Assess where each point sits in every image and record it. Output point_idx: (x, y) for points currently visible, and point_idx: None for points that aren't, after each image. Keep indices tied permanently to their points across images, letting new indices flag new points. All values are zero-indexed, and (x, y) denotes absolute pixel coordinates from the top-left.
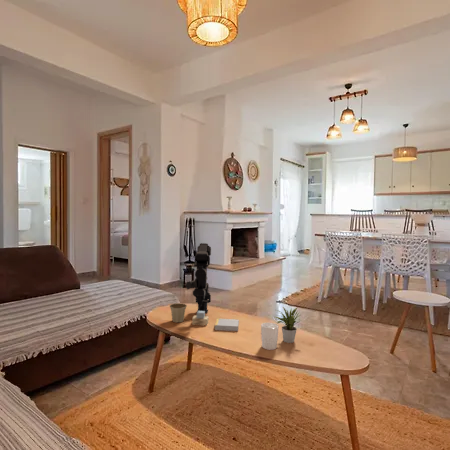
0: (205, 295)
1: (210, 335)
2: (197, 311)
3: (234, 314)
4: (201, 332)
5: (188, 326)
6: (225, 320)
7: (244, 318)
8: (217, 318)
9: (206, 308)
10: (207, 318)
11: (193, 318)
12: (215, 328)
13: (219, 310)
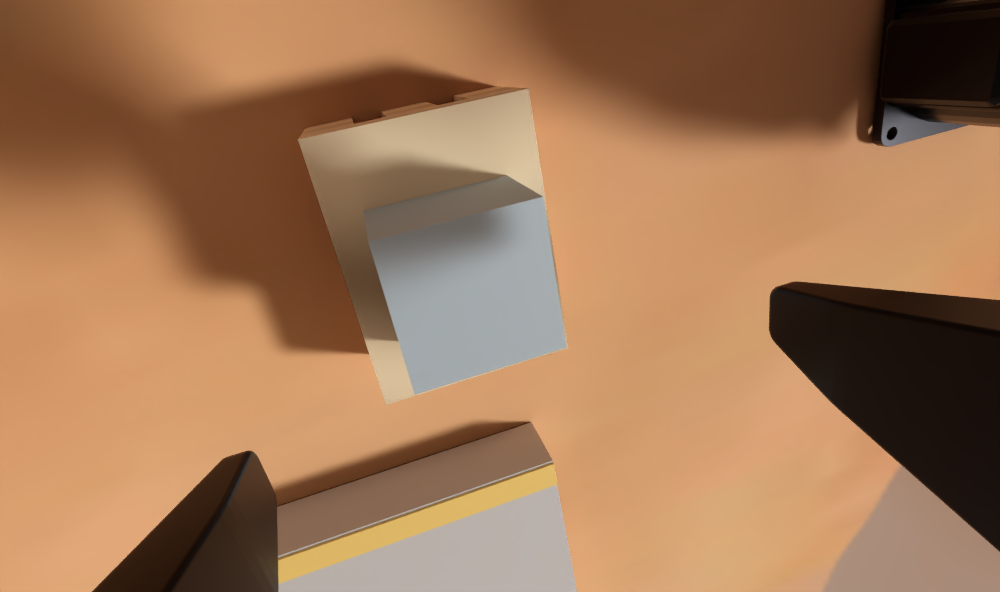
0: (986, 537)
1: (9, 562)
2: (478, 216)
3: (856, 452)
4: (39, 415)
5: (184, 95)
6: (506, 574)
7: (747, 575)
8: (547, 468)
9: (977, 124)
10: (440, 387)
11: (322, 156)
12: None
13: (991, 251)
